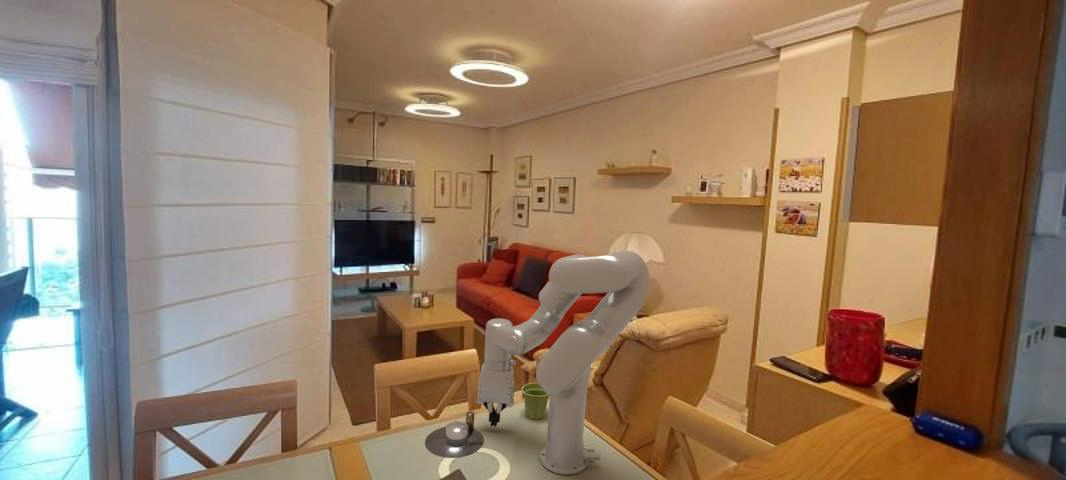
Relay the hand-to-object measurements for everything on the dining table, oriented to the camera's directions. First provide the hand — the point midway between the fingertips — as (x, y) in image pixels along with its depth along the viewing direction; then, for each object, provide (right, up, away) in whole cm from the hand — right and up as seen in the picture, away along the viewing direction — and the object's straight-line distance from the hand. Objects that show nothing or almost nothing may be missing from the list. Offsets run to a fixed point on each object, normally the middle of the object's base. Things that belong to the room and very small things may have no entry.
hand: (494, 423), depth 131 cm
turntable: (-10, -3, -6) cm, 12 cm away
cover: (-10, -2, -6) cm, 12 cm away
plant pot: (+12, -3, +13) cm, 18 cm away
